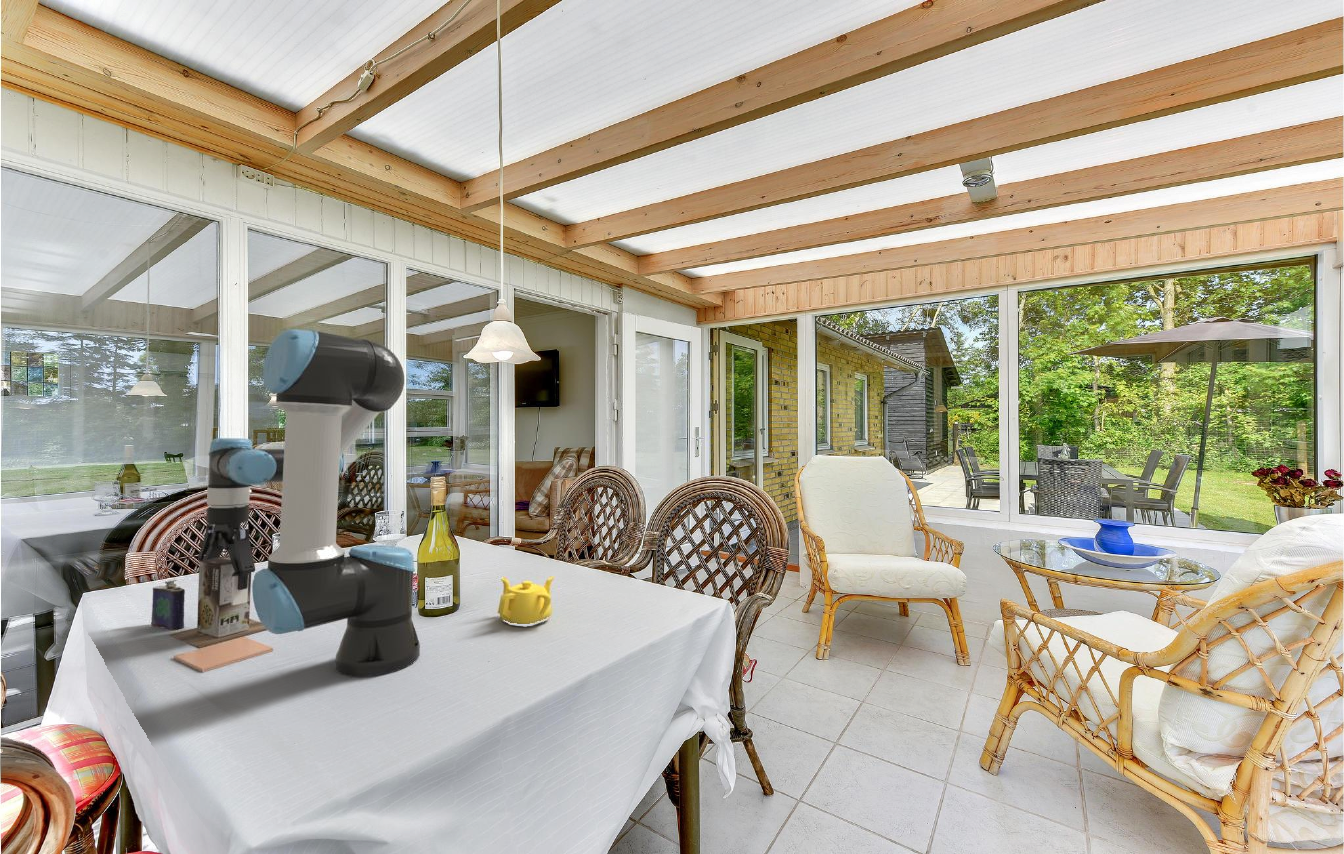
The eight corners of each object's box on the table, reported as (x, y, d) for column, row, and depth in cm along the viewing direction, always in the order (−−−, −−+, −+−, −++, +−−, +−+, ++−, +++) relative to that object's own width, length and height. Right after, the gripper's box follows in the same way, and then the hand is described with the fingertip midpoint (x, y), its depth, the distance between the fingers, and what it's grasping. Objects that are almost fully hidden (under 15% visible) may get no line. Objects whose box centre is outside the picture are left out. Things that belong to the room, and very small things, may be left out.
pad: (273, 650, 113) (273, 647, 113) (202, 672, 102) (202, 668, 102) (243, 639, 118) (243, 636, 118) (173, 658, 107) (173, 655, 108)
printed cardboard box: (250, 629, 123) (253, 559, 124) (217, 638, 117) (220, 564, 118) (228, 622, 127) (231, 554, 127) (195, 631, 121) (198, 559, 122)
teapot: (553, 611, 143) (554, 574, 143) (552, 629, 130) (553, 588, 130) (499, 613, 140) (501, 575, 140) (492, 631, 127) (494, 589, 127)
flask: (148, 625, 125) (150, 579, 125) (163, 621, 127) (166, 576, 128) (173, 631, 122) (176, 584, 122) (188, 627, 124) (191, 580, 125)
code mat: (274, 627, 125) (274, 626, 125) (199, 648, 113) (199, 646, 113) (243, 617, 132) (243, 616, 132) (169, 635, 119) (169, 634, 119)
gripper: (276, 509, 120) (272, 603, 120) (221, 498, 132) (216, 585, 132) (237, 512, 114) (232, 612, 114) (182, 501, 125) (177, 592, 125)
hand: (224, 598), depth 123 cm, fingers open, 13 cm apart
